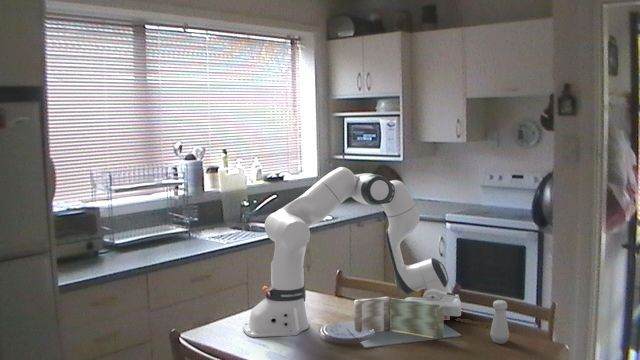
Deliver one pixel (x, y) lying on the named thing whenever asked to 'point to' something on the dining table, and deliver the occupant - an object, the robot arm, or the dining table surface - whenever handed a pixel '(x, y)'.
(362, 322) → the beige patterned panel
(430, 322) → the green fence panel
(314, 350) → the dining table surface
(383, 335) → the board
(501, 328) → the salt shaker
